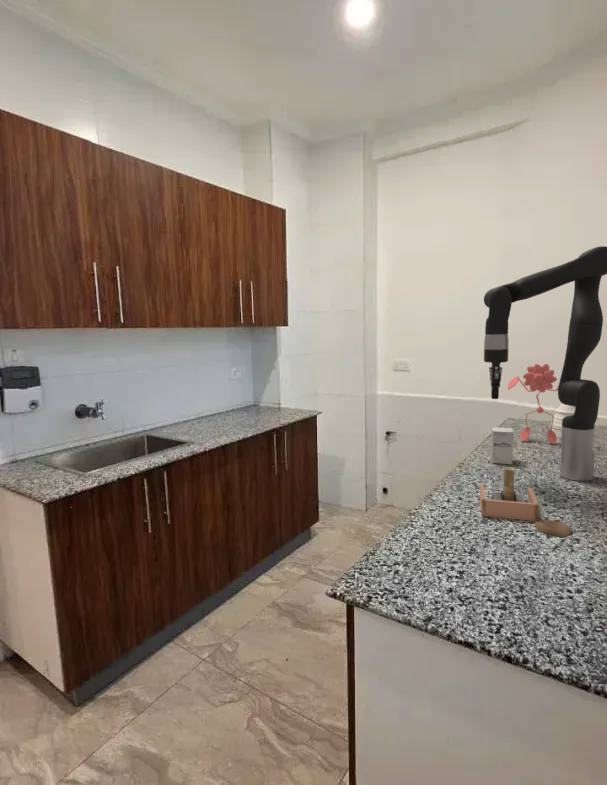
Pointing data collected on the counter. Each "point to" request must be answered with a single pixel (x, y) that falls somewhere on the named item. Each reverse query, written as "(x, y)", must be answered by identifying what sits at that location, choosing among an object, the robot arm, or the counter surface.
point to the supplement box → (502, 445)
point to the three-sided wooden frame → (510, 507)
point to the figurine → (539, 381)
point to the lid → (552, 528)
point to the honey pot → (561, 418)
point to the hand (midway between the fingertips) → (494, 398)
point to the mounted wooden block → (508, 488)
